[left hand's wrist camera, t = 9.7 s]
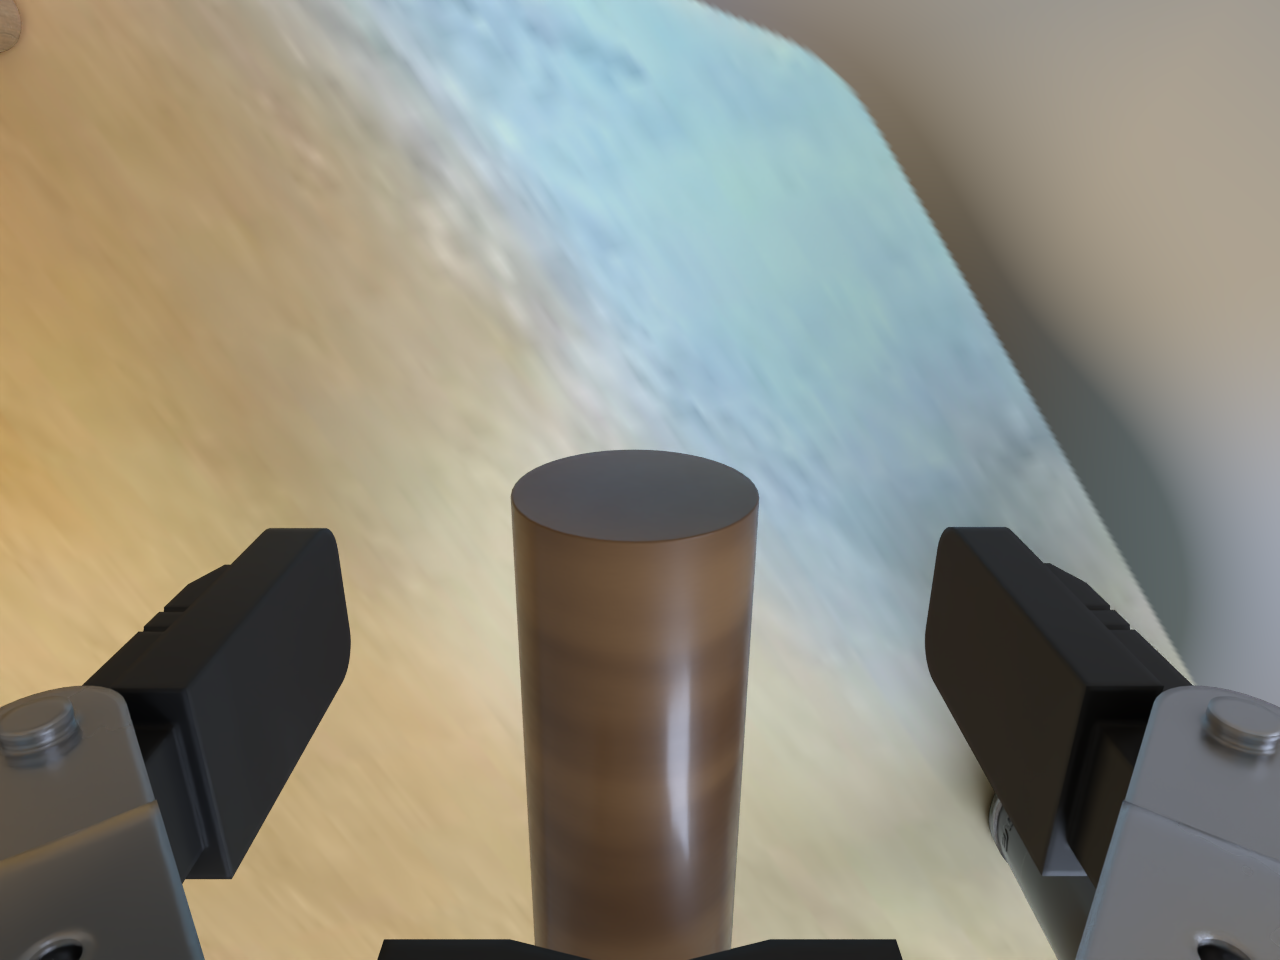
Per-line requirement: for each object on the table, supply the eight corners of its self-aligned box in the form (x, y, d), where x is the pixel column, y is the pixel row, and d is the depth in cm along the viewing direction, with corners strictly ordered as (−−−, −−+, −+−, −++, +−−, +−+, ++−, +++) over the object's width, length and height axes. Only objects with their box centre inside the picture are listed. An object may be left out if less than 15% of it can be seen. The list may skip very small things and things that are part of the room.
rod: (526, 448, 23) (492, 541, 18) (743, 449, 23) (777, 543, 18) (553, 1038, 32) (535, 1228, 26) (711, 1038, 32) (728, 1228, 26)
